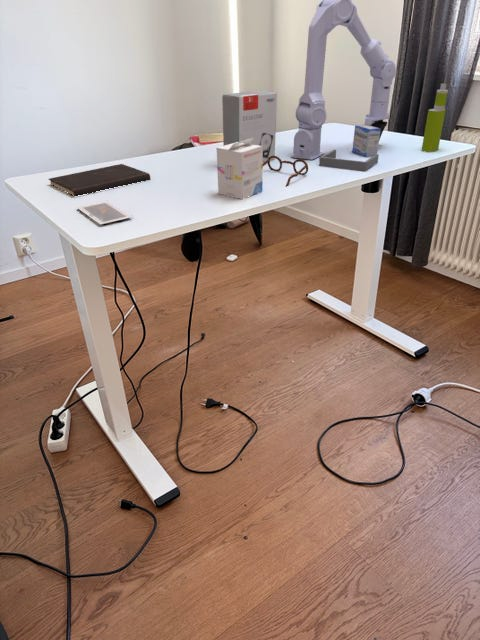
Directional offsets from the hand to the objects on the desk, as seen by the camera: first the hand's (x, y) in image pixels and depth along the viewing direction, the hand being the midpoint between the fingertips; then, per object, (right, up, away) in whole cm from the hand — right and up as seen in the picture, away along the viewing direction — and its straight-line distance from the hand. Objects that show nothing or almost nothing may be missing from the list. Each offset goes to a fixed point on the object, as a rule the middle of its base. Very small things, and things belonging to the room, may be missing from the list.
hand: (374, 144), depth 166 cm
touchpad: (-78, -36, -52) cm, 100 cm away
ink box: (-46, -27, -40) cm, 67 cm away
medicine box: (-5, -6, -6) cm, 10 cm away
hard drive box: (-43, -10, -13) cm, 46 cm away
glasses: (-35, -20, -28) cm, 50 cm away
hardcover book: (-85, -22, -29) cm, 93 cm away
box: (-13, -12, -17) cm, 25 cm away
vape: (+18, -3, -3) cm, 18 cm away
